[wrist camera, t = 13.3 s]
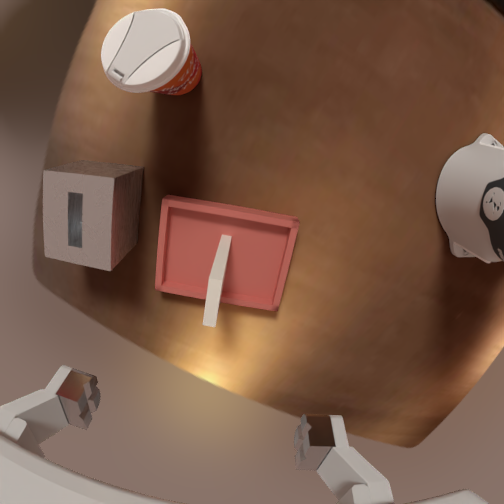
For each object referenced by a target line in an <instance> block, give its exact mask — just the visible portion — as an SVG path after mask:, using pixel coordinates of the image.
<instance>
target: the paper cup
mask: <svg viewBox="0 0 504 504" xmlns="http://www.w3.org/2000/svg"><path fill="white" fill-rule="evenodd" d="M101 60H102V65H103V68H104V71H105V74H106V76H107V77H108V79H109V80H110V81H111V83H113V84H114V85H115V86H116V87H118V88H120V89H122V90H125V91H128V92H134V93H141V92H148V91H150V92H156V93H161V94H168V95H182V94H185V93H188V92H190V91H191V90H192V89H194V88H195V87H196V85H197V84H198V83H199V81H200V78H201V74H202V69H201V64H200V62H199V59H198V57H197V55H196V53H195V51H194V49H193V47H192V45H191V43H190V35H189V32H188V29H187V27H186V25H185V24H184V22H183V20H182V18H181V16H179V15H178V14H176V13H175V12H173V11H171V10H167V9H164V8H163V9H148V10H143V11H137V12H133V13H131V14H129V15H127V16H125V17H123V18H122V19H120V20H119V21H118V22H117V23H116V24H115V25H114V26H113V27H112V28H111V29H110V31H109V32H108V34H107V36H106V38H105V40H104V43H103V46H102V51H101Z"/></svg>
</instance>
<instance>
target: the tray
mask: <svg viewBox="0 0 504 504" xmlns="http://www.w3.org/2000/svg"><path fill="white" fill-rule="evenodd" d="M299 223H300V222H299V220H298V218H297V217H294V216H289V215H284V214H279V213H273V212H268V211H263V210H257V209H252V208H246V207H240V206H235V205H229V204H223V203H217V202H211V201H205V200H199V199H193V198H187V197H181V196H174V195H167V196H165V197H164V198H163V199H162V207H161V217H160V227H159V238H158V251H157V265H156V281H155V290H158V291H163V292H168V293H173V294H178V295H183V296H189V297H194V298H199V299H205V300H206V296H207V289H208V281H209V276H210V273H211V269H212V266H213V263H214V259H215V256H216V253H217V249H218V246H219V243H220V239H221V236H222V235H228V236H232V238H231V243H230V249H229V255H228V261H227V267H226V273H225V278H224V283H223V289H222V294H221V299H220V302H222V303H228V304H234V305H240V306H246V307H252V308H258V309H265V310H271V311H278V308H279V304H280V300H281V296H282V292H283V288H284V284H285V280H286V276H287V272H288V268H289V264H290V260H291V256H292V252H293V248H294V244H295V240H296V236H297V232H298V227H299Z"/></svg>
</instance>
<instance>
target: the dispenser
mask: <svg viewBox="0 0 504 504" xmlns="http://www.w3.org/2000/svg"><path fill="white" fill-rule="evenodd" d="M143 172H144V167H140V166H132V165H123V164H114V163H105V162H95V161H85V160H82V161H77V162H73V163H69V164H65V165H62V166H58V167H54V168H50V169H47V170H44V174H43V228H44V247H45V257H50V258H54V259H58V260H62V261H67V262H71V263H75V264H80V265H84V266H89V267H93V268H98V269H102V270H107V271H112V269H113V268H114V267H115V266H116V265H117V264H118V263H119V262H120V261H121V260H122V259H123V258H124V256H125V255H126V254H127V253H128V252H129V251H130V250H131V249H132V248H133V247H134V246H135V245H136V244H137V243H138V227H139V213H140V201H141V190H142V181H143Z"/></svg>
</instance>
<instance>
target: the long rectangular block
mask: <svg viewBox="0 0 504 504" xmlns="http://www.w3.org/2000/svg"><path fill="white" fill-rule="evenodd" d="M231 238H232V236H228V235H222V236H221V239H220V243H219V246H218V249H217V253H216V256H215V259H214V263H213V266H212V269H211V273H210V276H209V281H208V289H207V296H206V303H205V311H204V318H203V325H206V326H211V327H215V326H216V321H217V315H218V310H219V305H220V299H221V294H222V289H223V283H224V278H225V273H226V267H227V261H228V255H229V249H230V243H231Z"/></svg>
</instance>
